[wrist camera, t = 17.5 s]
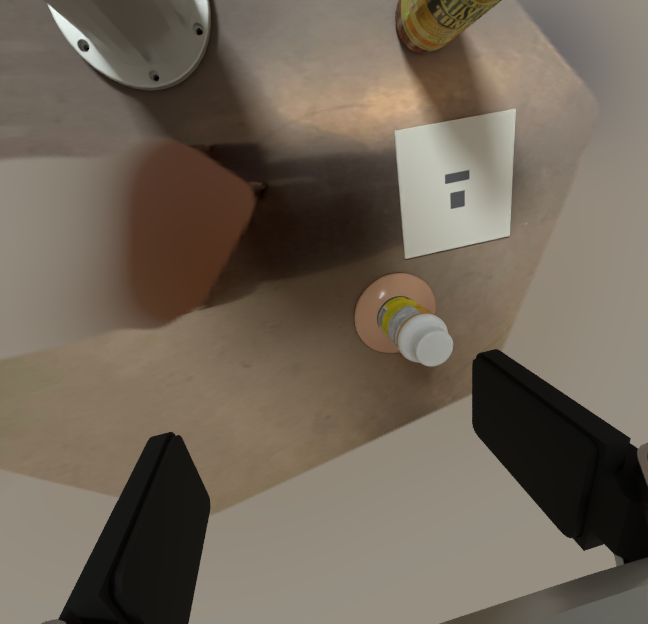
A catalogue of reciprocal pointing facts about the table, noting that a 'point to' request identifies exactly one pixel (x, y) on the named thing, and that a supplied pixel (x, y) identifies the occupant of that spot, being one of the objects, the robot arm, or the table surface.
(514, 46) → the table surface
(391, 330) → the supplement bottle
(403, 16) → the sauce bottle
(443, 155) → the white flat square slab
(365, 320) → the peach domed disc
